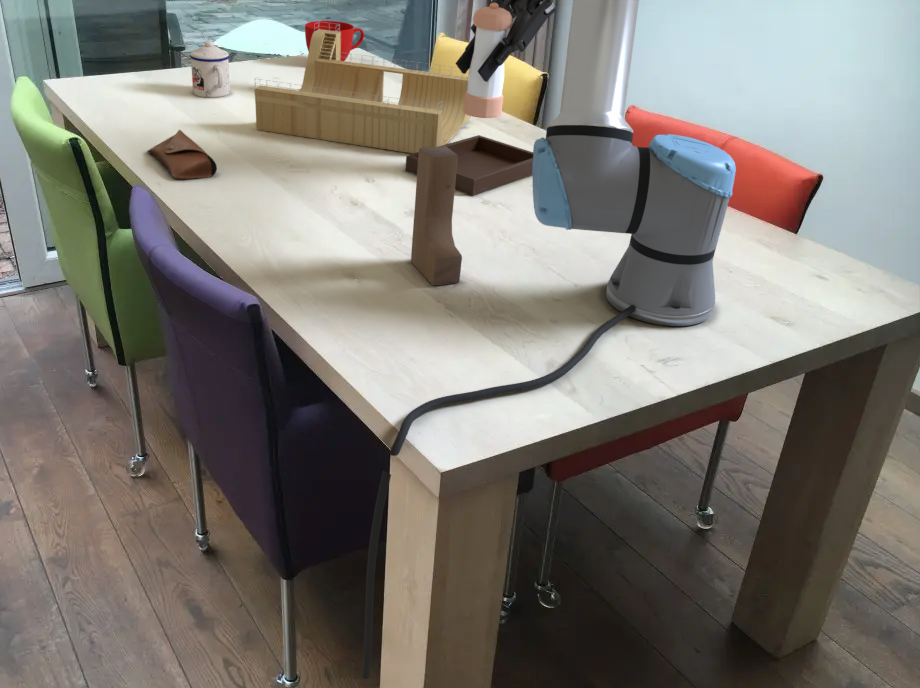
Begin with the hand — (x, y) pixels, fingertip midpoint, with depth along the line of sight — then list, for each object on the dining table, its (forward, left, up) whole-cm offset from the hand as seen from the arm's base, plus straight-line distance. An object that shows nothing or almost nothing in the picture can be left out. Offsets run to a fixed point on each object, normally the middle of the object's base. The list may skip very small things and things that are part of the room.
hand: (471, 72), depth 164 cm
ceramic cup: (+41, +80, -20) cm, 92 cm away
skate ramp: (+11, +36, -20) cm, 43 cm away
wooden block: (-37, -26, -20) cm, 49 cm away
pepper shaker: (+4, -1, -8) cm, 9 cm away
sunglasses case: (-38, +38, -20) cm, 57 cm away
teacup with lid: (-4, +74, -20) cm, 77 cm away
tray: (+4, 0, -19) cm, 20 cm away
